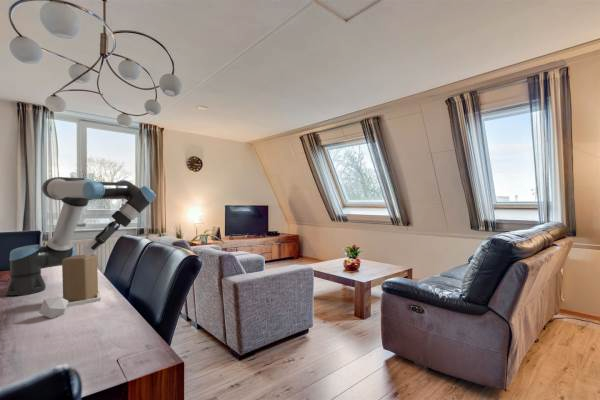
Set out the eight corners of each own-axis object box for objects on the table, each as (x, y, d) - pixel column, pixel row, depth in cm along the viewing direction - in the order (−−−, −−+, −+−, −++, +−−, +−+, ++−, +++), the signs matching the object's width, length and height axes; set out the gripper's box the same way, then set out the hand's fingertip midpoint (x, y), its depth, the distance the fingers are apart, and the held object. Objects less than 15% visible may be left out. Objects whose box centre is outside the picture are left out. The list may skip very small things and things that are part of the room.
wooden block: (76, 297, 142) (75, 254, 143) (99, 295, 143) (97, 253, 143) (62, 304, 133) (60, 258, 133) (86, 303, 133) (84, 257, 133)
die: (71, 317, 119) (74, 293, 125) (49, 313, 112) (54, 288, 117) (53, 324, 120) (58, 300, 125) (31, 320, 113) (37, 296, 118)
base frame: (62, 300, 140) (62, 296, 140) (99, 293, 148) (99, 290, 148) (60, 308, 128) (60, 304, 128) (100, 300, 136) (100, 297, 136)
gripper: (115, 209, 143) (77, 245, 134) (120, 209, 122) (76, 251, 113) (128, 220, 146) (92, 255, 137) (136, 221, 125) (93, 263, 117)
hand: (84, 253), depth 125 cm, fingers open, 13 cm apart
